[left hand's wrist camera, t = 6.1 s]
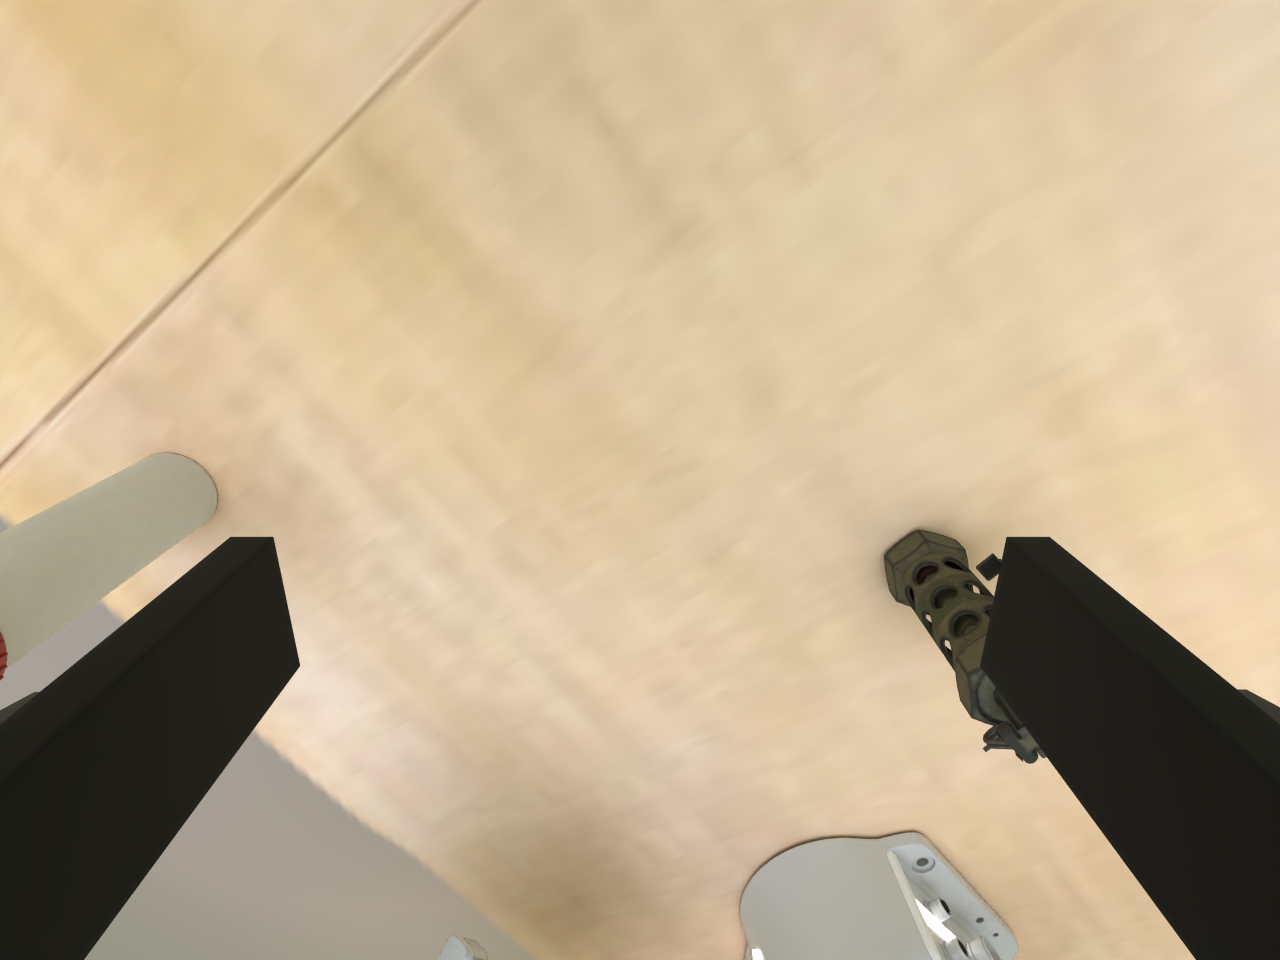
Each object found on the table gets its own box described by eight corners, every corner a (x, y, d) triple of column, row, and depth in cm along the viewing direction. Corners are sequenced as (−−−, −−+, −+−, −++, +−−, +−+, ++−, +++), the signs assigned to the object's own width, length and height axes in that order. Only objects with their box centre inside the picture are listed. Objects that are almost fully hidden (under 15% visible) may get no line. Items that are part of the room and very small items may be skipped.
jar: (221, 531, 43) (-15, 717, 28) (140, 523, 43) (-144, 705, 27) (213, 457, 42) (-45, 610, 26) (128, 448, 41) (-183, 597, 26)
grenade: (911, 632, 46) (1031, 820, 32) (855, 575, 44) (955, 746, 30) (1028, 546, 44) (1212, 708, 30) (974, 483, 42) (1140, 622, 28)
